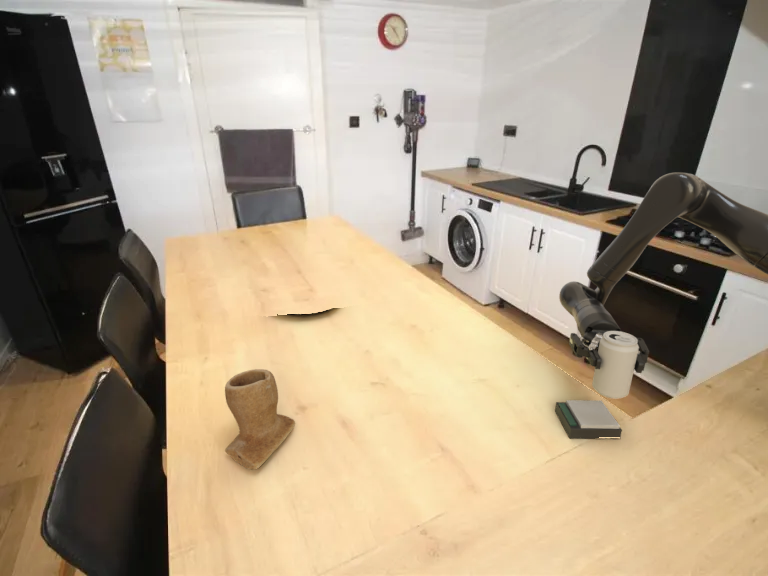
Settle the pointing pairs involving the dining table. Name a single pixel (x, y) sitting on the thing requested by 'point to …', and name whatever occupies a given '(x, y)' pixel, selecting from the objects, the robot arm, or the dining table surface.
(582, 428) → the scale
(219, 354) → the dining table surface
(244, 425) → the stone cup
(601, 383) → the beverage can
